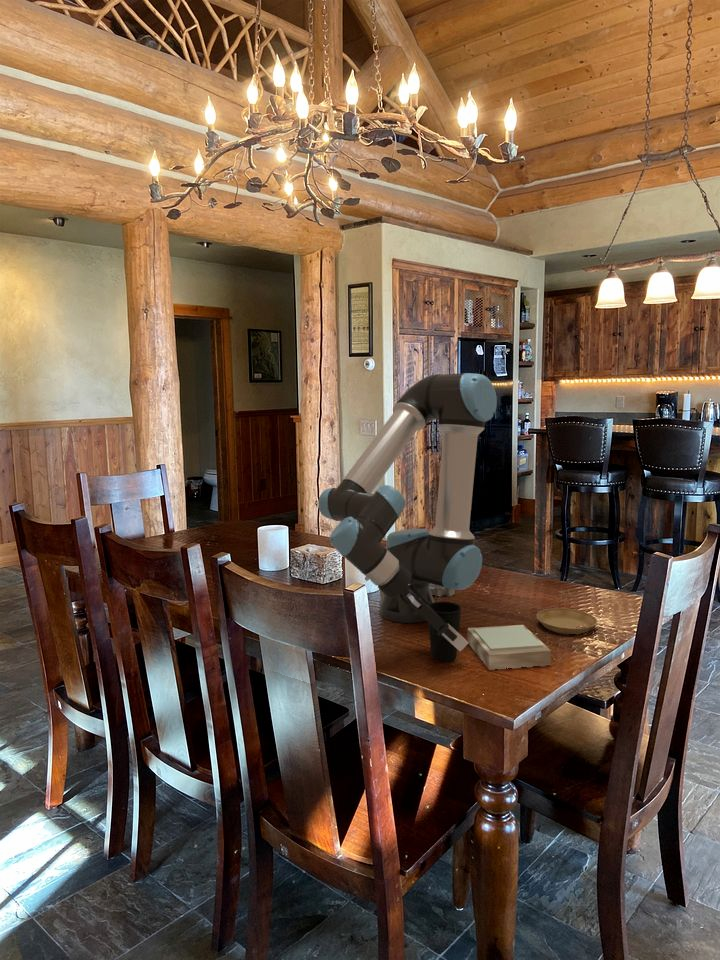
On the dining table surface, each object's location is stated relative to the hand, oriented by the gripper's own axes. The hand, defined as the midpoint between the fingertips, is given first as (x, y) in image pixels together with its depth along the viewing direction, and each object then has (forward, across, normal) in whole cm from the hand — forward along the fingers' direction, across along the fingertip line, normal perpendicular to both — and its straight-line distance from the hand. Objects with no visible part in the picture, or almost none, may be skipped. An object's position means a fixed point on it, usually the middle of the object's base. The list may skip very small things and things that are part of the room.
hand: (458, 639), depth 148 cm
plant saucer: (+26, -14, +20) cm, 36 cm away
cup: (+1, 0, -6) cm, 6 cm away
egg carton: (+8, -46, +2) cm, 47 cm away
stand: (+11, 0, +5) cm, 12 cm away
